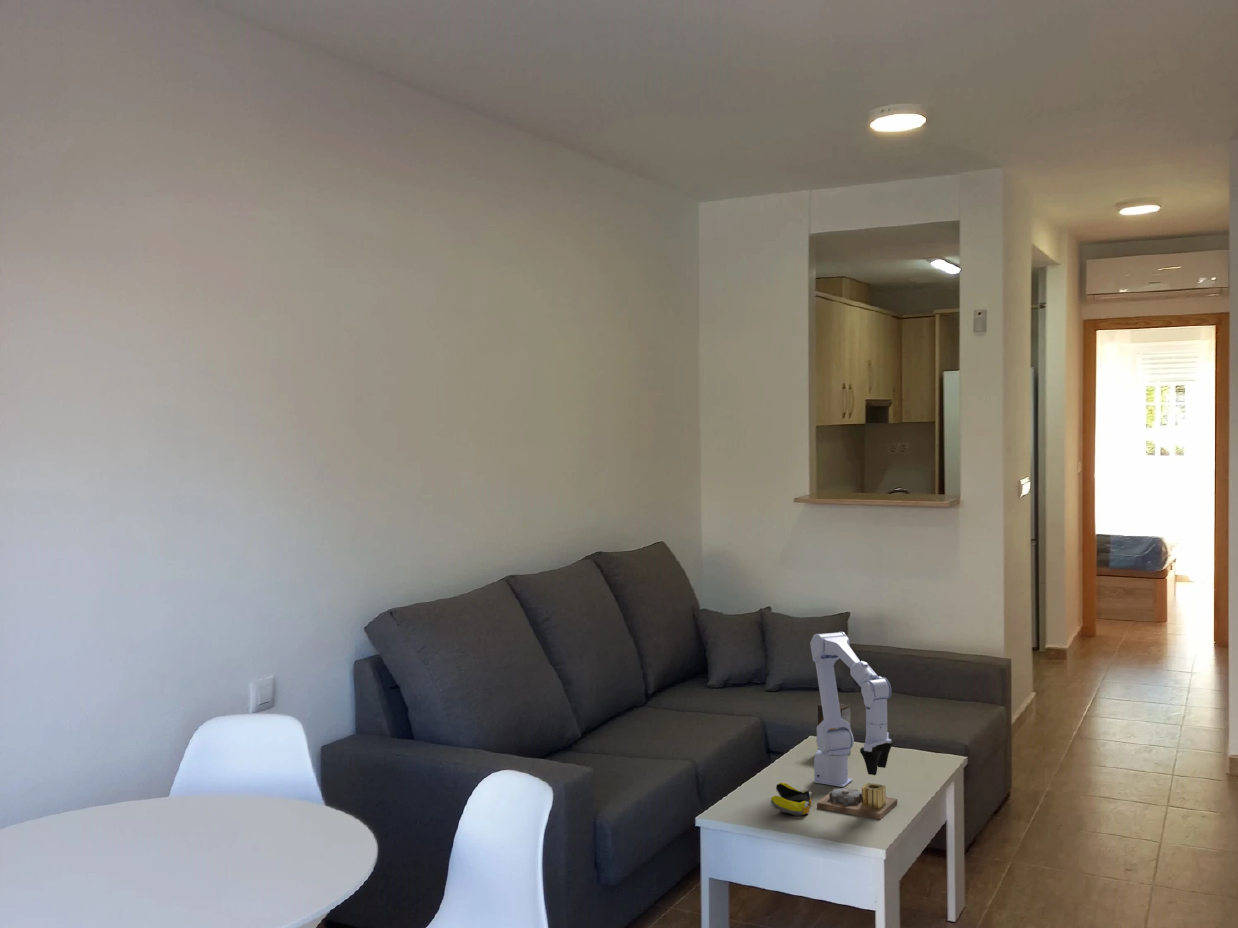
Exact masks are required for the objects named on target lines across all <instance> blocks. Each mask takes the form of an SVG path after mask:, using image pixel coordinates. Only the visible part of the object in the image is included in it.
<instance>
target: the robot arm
mask: <svg viewBox="0 0 1238 928" xmlns="http://www.w3.org/2000/svg"><path fill="white" fill-rule="evenodd" d="M809 643H810V651H811V656H812V662H814V663H815V668H816V675H817V683H818V689H819V690H818V691H819V695H820V704H822V710H823V717H824V720H823V721H822V722H821V723H820V724H819V725H818V724H817V726H816V740H815V741H816V745H817V751H816V752H815V754H814V760H813V767H814V768H813V775H814V778H813V781H812V782H813V783H815V784H816V783H817V784H823V785H828V786H834V787H839V788H840V787H841V788H845V787H846V786H847V785H848V784H850V783H851V782H853V780H854V778H851V777H849V762H848V759H849V758H848V757H849V755H848V753H849V752H850V749H852V748H853V746H854V743H855V739H854V738H855V737H854V735H853V732H852V728H851V729H850V724H849V723H848V722H846V721H845V720H843V719H842V718H841V712H840V705H839V703H840V700H839V693H838V687H837V680H836V672H835V667H834V665H835V664H836V662H837V661H838V660H839V659H840V660H841V661H842V662H843V663H844V664H845V665H846V666H847V667H848V668H849V669H850V676H851V678H852V679H853V680H854V681H855V683H857V684H858V686H859V687H860V690H861V691H860V692H861V695H862V697H863V704H864V706H865V737H864V738H865V739H864V740H865V741H864V743H863V747H861V748H860V749H859V752H860V754H861V756H862V757H863V760H864V763H865V767H866V771H867V775H870V776H877V773H878V768H882V769H885V768H886V767H887V763H888V759H889V754H890V751H891V749H892V747H893V745H894V742H893V741H892V739H891V738H890V733H889V732H888V700H889V698H891V696H892V687H891V683H890V682H889V680H888V679H887V678H886V677H882V676H881V675H879V676H878V674H877V673H876V672H875V670H873V668H872V667H871V666H870V665H869V663H868V662H866V661H864V660H861V661H860V659H859V657H858V656H857V654H856V653H855V652H854V650H853V649H852V647H851V645H850V638H849V637H848V636H847V634H846V633H845V632H844V631H838V632H830V633H829V632H828V633H827V632H826V633H815V634H813V636H812V638H811V640H810V642H809ZM831 728H839V729H836V730H829V729H831ZM818 748H819V749H820V750H818Z"/></svg>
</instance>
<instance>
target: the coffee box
mask: <svg viewBox="0 0 1238 928" xmlns="http://www.w3.org/2000/svg"><path fill="white" fill-rule="evenodd" d="M839 705H840V712H841V718H842V719H843V720H845V721H846V722H848V723H849V724H850V729H851V730H852V728H851V721H852V720H851V717H852V716H851V715H852V713H851V711H852V710H851V707H852V706H851V705H849V704H844V703H840V702H839ZM823 720H824V717H823V710H822V704H821V703H819V704H817V726H818V725H819V724H820V723H821V722H822V721H823ZM836 729H839V728H831V729H829V730H836ZM851 749H852V748H851ZM851 749H850V752H849V753H848V756H850V755H851V753H852V750H851ZM818 750H820V749H819V748H818V747H817V751H818Z"/></svg>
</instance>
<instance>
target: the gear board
mask: <svg viewBox="0 0 1238 928" xmlns="http://www.w3.org/2000/svg"><path fill="white" fill-rule="evenodd" d="M897 805H898V798H894V797H888V796H886V804H885V806H884V807H882V808H881V809H877V808H868V807H866V806H862V792H859V790H858V789H852V788H847V787H841V788H832V790H831V791H829V792H828V794H826V795H825V796H824V797H823V798H821V799H820V800H819V801H817V802H816V808H817V809H820V810H827V811H831V812H837V813H842V814H843V813H844V814H849V815H854V816H858V817H865V818H871V819H876V820H882V819H883V818H884V817H885V816H886V815H888V813H890V811H891V810H893V809H894V808H895V807H896V806H897Z"/></svg>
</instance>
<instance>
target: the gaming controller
mask: <svg viewBox="0 0 1238 928" xmlns="http://www.w3.org/2000/svg"><path fill="white" fill-rule="evenodd" d="M775 791H776V792H777V793H778V794H779V795H774V796H771V798H770V803H771V805H772V806H774V808H775V809H777V811H779V812H780V813H784V814H791V815H793V816H794V815H795V817H801V816H803V815H806V814H809V813H810V807H812V798H811V796H812V791H809V790H806V791H803V792H802V791H800V790H798V789H796V788H795V787H793V786H791V785H789V784H788V783H786V782H782V781H781V782H779V783H777V784H776V787H775Z"/></svg>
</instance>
